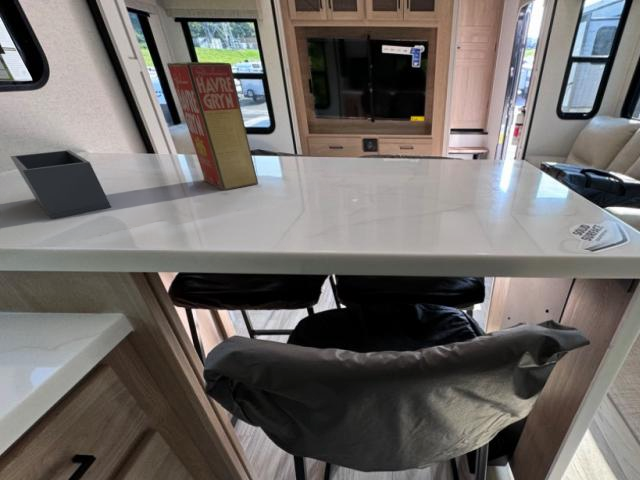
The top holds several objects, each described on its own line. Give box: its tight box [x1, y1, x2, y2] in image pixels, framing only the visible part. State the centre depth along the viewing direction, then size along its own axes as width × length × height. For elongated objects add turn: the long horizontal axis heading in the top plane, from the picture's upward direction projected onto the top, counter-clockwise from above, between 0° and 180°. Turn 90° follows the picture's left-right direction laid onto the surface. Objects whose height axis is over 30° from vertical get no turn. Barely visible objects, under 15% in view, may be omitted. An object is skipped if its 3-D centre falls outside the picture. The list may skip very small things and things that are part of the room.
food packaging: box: [166, 61, 259, 192], centre depth 78 cm, size 13×9×25 cm
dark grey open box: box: [10, 149, 112, 220], centre depth 68 cm, size 17×9×9 cm, turn 49°
